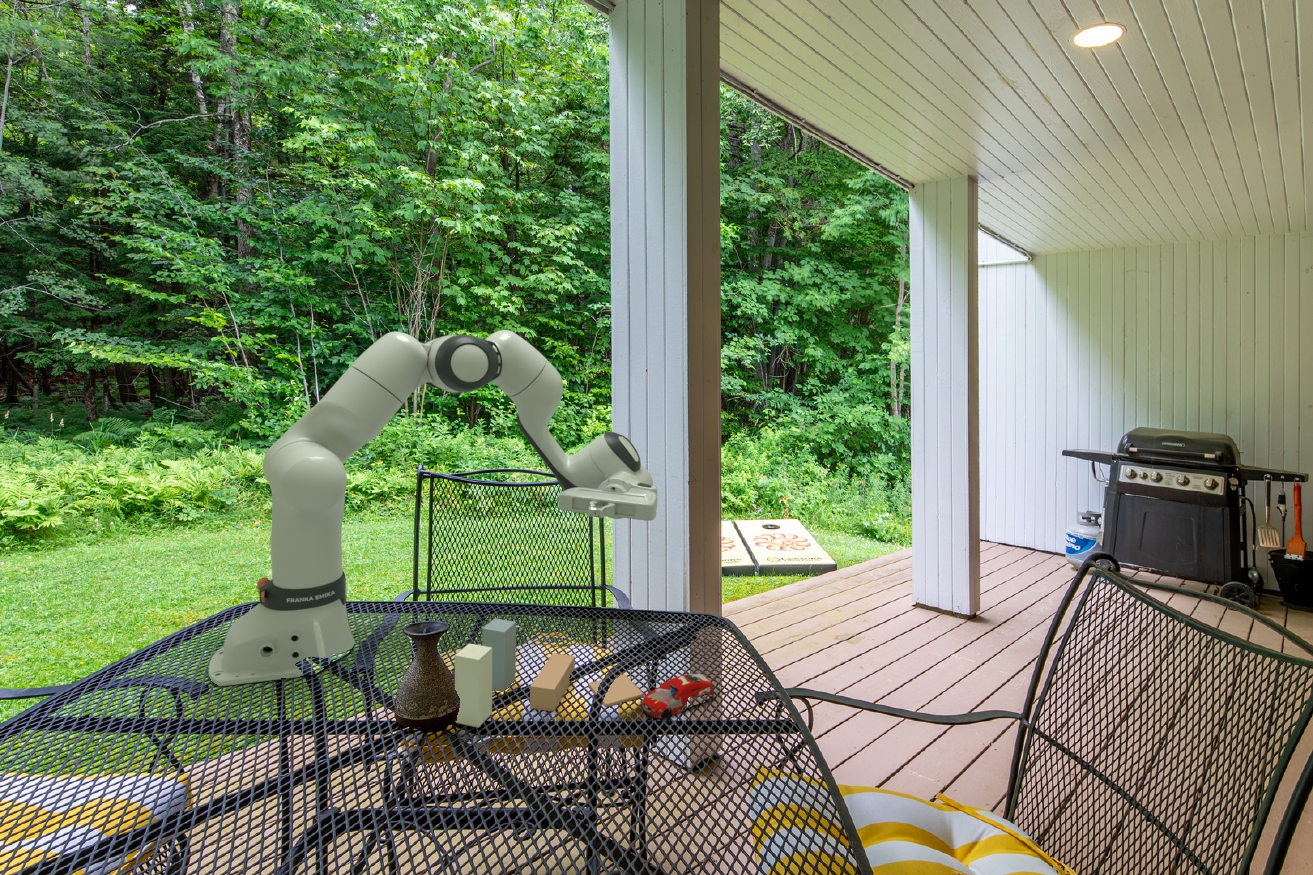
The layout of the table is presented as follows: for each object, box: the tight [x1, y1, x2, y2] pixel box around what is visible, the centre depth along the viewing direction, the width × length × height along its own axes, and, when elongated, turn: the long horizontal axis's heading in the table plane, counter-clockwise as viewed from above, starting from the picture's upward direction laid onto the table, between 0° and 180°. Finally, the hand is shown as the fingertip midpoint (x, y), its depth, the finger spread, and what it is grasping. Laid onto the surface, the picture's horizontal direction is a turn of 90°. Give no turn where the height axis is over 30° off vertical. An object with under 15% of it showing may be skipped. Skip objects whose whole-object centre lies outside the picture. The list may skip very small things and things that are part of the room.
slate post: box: [481, 617, 517, 691], centre depth 106 cm, size 4×4×11 cm
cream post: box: [454, 643, 493, 729], centre depth 97 cm, size 4×4×11 cm
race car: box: [642, 673, 715, 720], centre depth 104 cm, size 13×5×4 cm, turn 125°
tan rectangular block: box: [529, 652, 576, 712], centre depth 106 cm, size 4×4×11 cm
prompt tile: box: [587, 673, 645, 708], centre depth 107 cm, size 7×7×1 cm
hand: (595, 513), depth 122 cm, fingers closed
